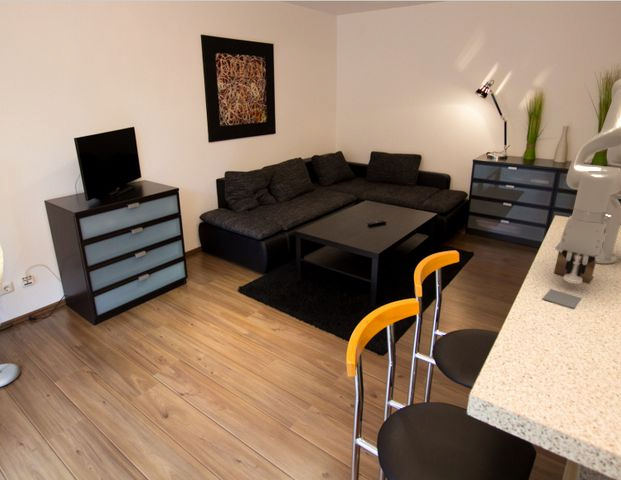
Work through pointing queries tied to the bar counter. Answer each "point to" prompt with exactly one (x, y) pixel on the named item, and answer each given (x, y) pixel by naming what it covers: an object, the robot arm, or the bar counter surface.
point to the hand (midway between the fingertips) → (574, 273)
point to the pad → (562, 299)
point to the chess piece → (574, 271)
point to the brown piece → (562, 262)
